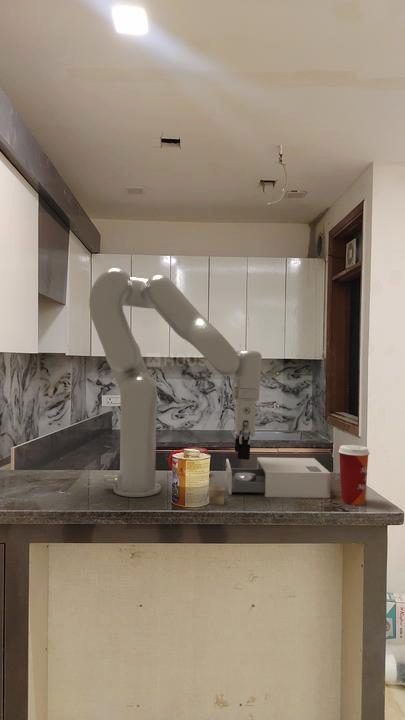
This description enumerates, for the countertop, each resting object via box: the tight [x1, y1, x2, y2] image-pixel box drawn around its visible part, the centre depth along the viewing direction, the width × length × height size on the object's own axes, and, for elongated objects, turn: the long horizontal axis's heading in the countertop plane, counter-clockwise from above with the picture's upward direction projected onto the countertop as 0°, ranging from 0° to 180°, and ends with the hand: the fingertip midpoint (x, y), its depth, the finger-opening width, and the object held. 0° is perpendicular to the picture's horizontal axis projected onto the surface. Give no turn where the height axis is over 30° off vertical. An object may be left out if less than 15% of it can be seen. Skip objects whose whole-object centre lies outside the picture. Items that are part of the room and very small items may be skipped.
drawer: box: [224, 458, 265, 496], centre depth 132 cm, size 17×16×6 cm
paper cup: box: [337, 444, 371, 506], centre depth 120 cm, size 8×8×14 cm
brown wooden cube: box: [208, 485, 225, 506], centre depth 118 cm, size 4×4×4 cm
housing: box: [256, 456, 331, 499], centre depth 132 cm, size 17×18×7 cm
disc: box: [235, 473, 256, 482], centre depth 132 cm, size 6×6×2 cm
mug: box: [168, 446, 208, 470], centre depth 145 cm, size 8×12×8 cm, turn 85°
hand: (241, 455), depth 132 cm, fingers open, 9 cm apart
